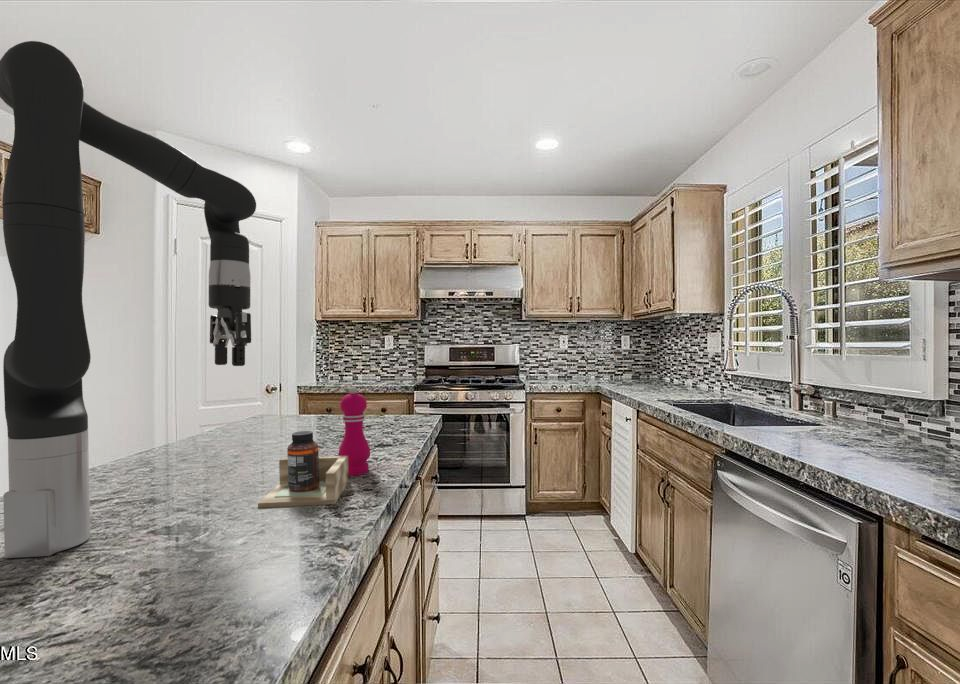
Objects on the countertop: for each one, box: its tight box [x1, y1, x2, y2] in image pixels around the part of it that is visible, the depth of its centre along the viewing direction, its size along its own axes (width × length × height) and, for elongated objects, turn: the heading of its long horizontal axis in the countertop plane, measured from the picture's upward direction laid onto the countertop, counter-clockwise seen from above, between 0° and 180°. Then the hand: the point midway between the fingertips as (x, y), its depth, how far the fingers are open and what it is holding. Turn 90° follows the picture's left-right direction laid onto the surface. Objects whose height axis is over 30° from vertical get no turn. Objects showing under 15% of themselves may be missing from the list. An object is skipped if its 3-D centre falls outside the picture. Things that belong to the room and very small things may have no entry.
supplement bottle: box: [286, 430, 320, 492], centre depth 98 cm, size 6×6×11 cm
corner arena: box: [257, 455, 350, 509], centre depth 97 cm, size 14×14×6 cm
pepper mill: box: [337, 386, 371, 477], centre depth 113 cm, size 7×7×20 cm
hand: (229, 365), depth 97 cm, fingers open, 8 cm apart
